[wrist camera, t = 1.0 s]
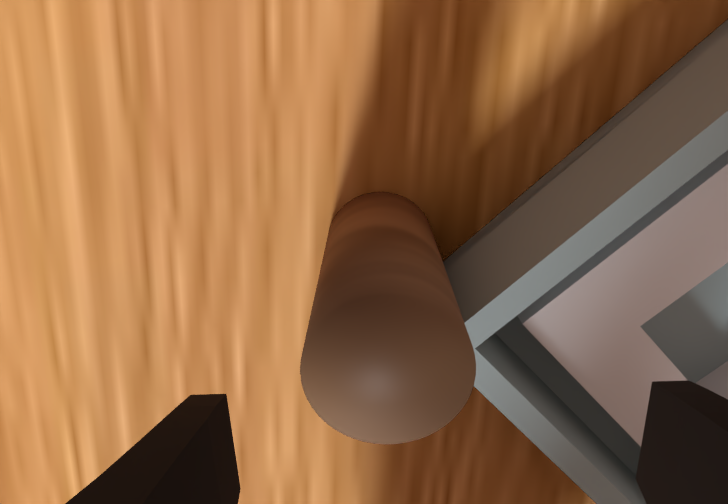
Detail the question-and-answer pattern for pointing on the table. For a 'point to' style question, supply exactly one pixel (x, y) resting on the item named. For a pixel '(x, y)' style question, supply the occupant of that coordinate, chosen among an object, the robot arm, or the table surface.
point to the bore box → (609, 278)
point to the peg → (385, 327)
